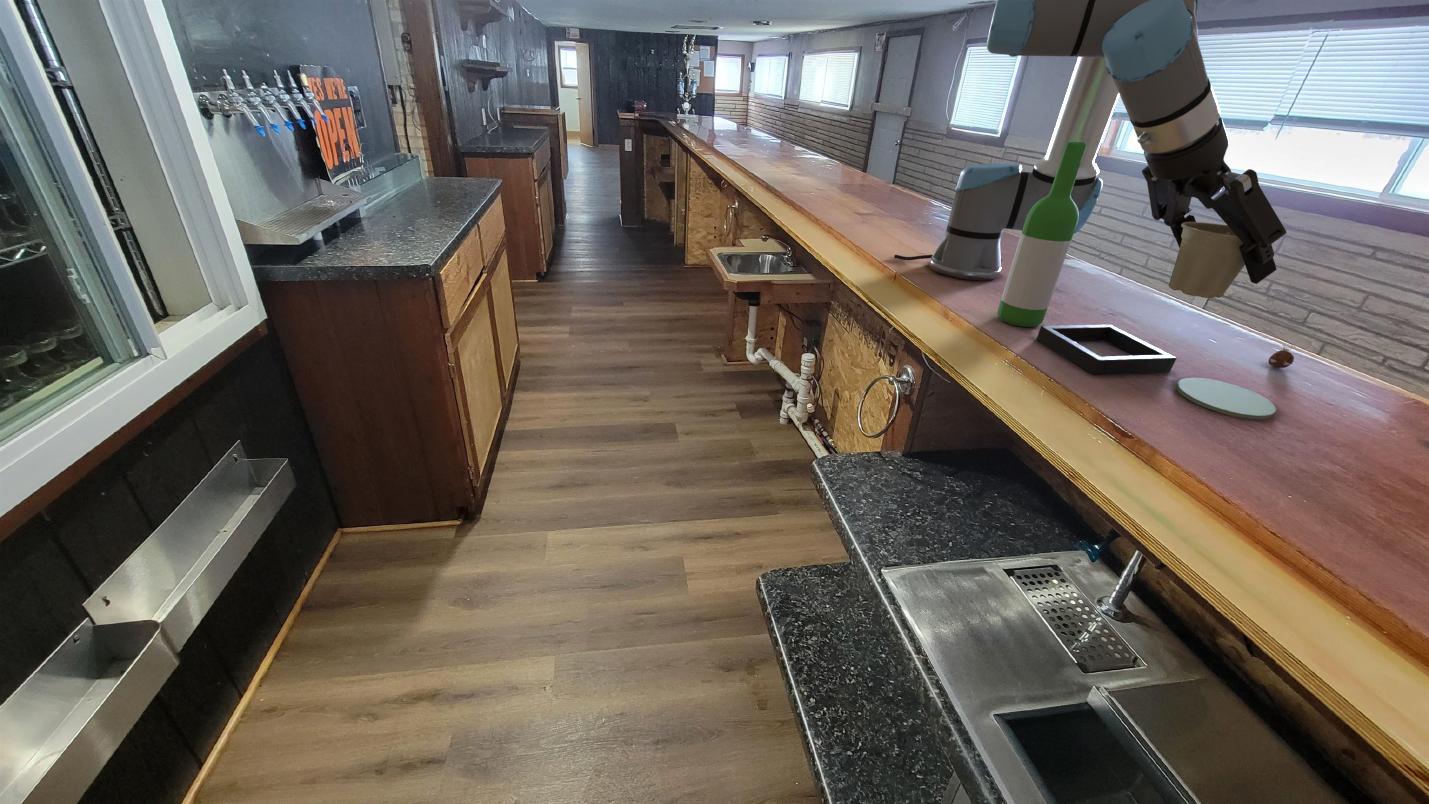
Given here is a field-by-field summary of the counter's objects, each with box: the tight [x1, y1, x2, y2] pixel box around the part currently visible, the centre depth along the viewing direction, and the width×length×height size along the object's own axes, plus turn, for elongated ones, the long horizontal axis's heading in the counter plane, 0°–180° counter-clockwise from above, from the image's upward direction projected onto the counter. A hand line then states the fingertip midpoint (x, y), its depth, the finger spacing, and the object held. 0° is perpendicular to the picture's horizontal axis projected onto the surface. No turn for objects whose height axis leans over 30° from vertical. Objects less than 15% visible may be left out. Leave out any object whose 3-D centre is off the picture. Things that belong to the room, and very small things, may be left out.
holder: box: [1035, 324, 1177, 376], centre depth 91 cm, size 13×13×2 cm
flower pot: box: [1168, 221, 1245, 299], centre depth 77 cm, size 9×9×9 cm
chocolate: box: [1267, 343, 1297, 369], centre depth 89 cm, size 3×2×4 cm
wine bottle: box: [997, 142, 1087, 328], centre depth 96 cm, size 8×8×30 cm
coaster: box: [1175, 377, 1277, 420], centre depth 79 cm, size 11×11×1 cm
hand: (1227, 264), depth 78 cm, fingers closed on flower pot, 9 cm apart
